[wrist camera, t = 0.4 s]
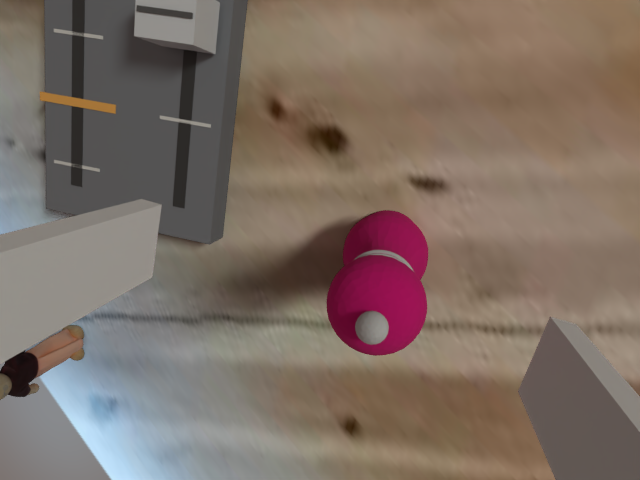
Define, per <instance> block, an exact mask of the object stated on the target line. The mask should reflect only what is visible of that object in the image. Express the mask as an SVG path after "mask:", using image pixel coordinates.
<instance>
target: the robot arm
mask: <svg viewBox="0 0 640 480" xmlns="http://www.w3.org/2000/svg"><path fill="white" fill-rule="evenodd" d="M161 207H162V205H161V204H158V203H154V202H151V201H147V200H144V199H139V200H135V201H132V202H128V203H124V204H120V205H116V206H112V207H108V208H104V209H100V210H96V211H92V212H88V213H84V214H80V215H76V216H73V217H69V218H65V219H61V220H57V221H53V222H49V223H45V224H41V225H37V226H33V227H29V228H25V229H21V230H17V231H13V232H10V233H6V234H2V235H0V364H1V363H3V362H5V361H7V360H8V359H10V358H12V357H14V356H15V355H17V354H19V353H21V352H22V351H24V350H26V349H28V348H29V347H31V346H33V345H35V344H36V343H38V342H40V341H42V340H43V339H45V338H47V337H49V336H50V335H52V334H54V333H56V332H57V331H59V330H61V329H63V328H64V327H66V326H68V325H70V324H71V323H73V322H75V321H77V320H78V319H80V318H82V317H84V316H85V315H87V314H89V313H91V312H92V311H94V310H96V309H98V308H99V307H101V306H103V305H105V304H106V303H108V302H110V301H112V300H113V299H115V298H117V297H119V296H120V295H122V294H124V293H126V292H127V291H129V290H131V289H133V288H134V287H136V286H138V285H140V284H141V283H143V282H145V281H147V280H148V279H150V278H152V275H153V268H154V260H155V252H156V245H157V237H158V229H159V222H160V214H161ZM518 392H519V395H520V397H521V399H522V402H523V404H524V406H525V409H526V411H527V413H528V416H529V418H530V420H531V423H532V425H533V428H534V430H535V432H536V435H537V437H538V439H539V442H540V444H541V446H542V449H543V451H544V453H545V456H546V458H547V460H548V463H549V465H550V467H551V470H552V472H553V474H554V477H555V479H556V480H640V396H639V395H638V394H637V393H636V392H635V391H634V390H633V388H632V387H631V386H630V385H629V384H628V383H627V382H626V380H625V379H624V378H623V377H622V376H621V375H620V374H619V373H618V371H617V370H616V369H615V368H614V367H613V366H612V365H611V363H610V362H609V361H608V360H607V359H606V358H605V357H604V355H603V354H602V353H601V352H600V351H599V350H598V349H597V347H596V346H595V345H594V344H593V343H592V342H591V341H590V339H589V338H588V337H587V336H586V335H585V334H584V333H583V331H582V330H581V329H580V328H579V327H578V326H577V325H576V324H574V323H571V322H567V321H564V320H560V319H557V318H553V317H550V319H549V321H548V323H547V325H546V328H545V330H544V332H543V335H542V337H541V339H540V342H539V344H538V346H537V349H536V351H535V353H534V356H533V358H532V360H531V363H530V365H529V367H528V370H527V372H526V374H525V377H524V379H523V381H522V384H521V386H520V388H519V391H518Z"/></svg>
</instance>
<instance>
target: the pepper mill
mask: <svg viewBox="0 0 640 480" xmlns="http://www.w3.org/2000/svg"><path fill="white" fill-rule="evenodd" d="M427 261H428V247H427V242H426V240H425V237H424V235H423V233H422V232H421V230H420V229H419V228H418V227H417V226H416V225H415V224H414V223H413V222H412V221H411V220H410V219H409V218H408V217H407V216H405V215H404V214H401V213H399V212H395V211H386V210H385V211H379V212H376V213H373V214H371V215H369V216H367V217H365V218H363V219H362V220H360V221H359V222H358V223H356V224H355V226H354V227H353V228H352V229H351V230H350V232H349V234H348V236H347V238H346V240H345V244H344V249H343V263H344V267H343V268H342V269H341V270H340V271H339V272H338V273H337V274H336V276H335V277H334V279H333V281H332V283H331V285H330V288H329V291H328V295H327V313H328V318H329V321H330V323H331V325H332V328H333V329H334V331H335V332H336V334H337V335H338V337H339V338H340V339H341V340H342V341H343V342H345V343H346V344H347V345H348V346H349V347H351V348H353V349H355V350H356V351H359V352H362V353H365V354H369V355H387V354H391V353H395V352H397V351H399V350H401V349H403V348H405V347H406V346H407V345H409V344H410V343H411V342H412V341H413V340H414V339H415V338H416V336H417V335H418V334H419V333H420V331H421V329H422V327H423V324H424V322H425V318H426V313H427V301H426V294H425V291H424V288H423V285H422V283H421V281H420V279H421V278H422V276H423V274H424V272H425V270H426V266H427Z"/></svg>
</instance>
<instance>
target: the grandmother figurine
mask: <svg viewBox="0 0 640 480" xmlns="http://www.w3.org/2000/svg"><path fill="white" fill-rule="evenodd" d="M83 338H84V332H83V330H82V328H81V327H79V326H76V325H68V326H66V327H64V328H63V329H62V331H61V332H59V333H57V334H55V335H53V336H51V337H49V338H47V339H46V340H44V341H42V342H41V343H39V344H38V345H37V346H35V347H34V348H32V349H30V350H28V351H26V352H25V350H24V351H22V352H21V353H19V354H17V355H15V356H14V357H12V358H10V359H8V360H7V361H5V364H4V366H3V367H2V369H1V371H0V400H1V399H3V398H4V397H5V396H7V395H11V396H16V397H25V396H27V395H29V394H32V393H36V392H37V391H38V390H39V386H38V385H37V384H35V383H34V384H31V385H29V384H28V383H30V382H31V381H32V380H33V379H34V378H36V377H38V376H40V375H42V374H43V373H45V372H46V371H48V370H50V369H51V368H53V367H55V366H57V365H59V364H60V363H62V362H64V361H66V360H67V359H68V358H71V359H73V360H81V359H82V358H83V357H84V350H83V349H82V347H83V340H82V339H83Z"/></svg>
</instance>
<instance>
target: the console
mask: <svg viewBox="0 0 640 480" xmlns="http://www.w3.org/2000/svg"><path fill="white" fill-rule="evenodd" d="M217 1H218V2H219V3H220V9H219V20H218V31H217V42H216V53H215V54H210V53H204V52H197V51H190V50H184V49H177V48H171V47H164V46H160V45H157V44H154V43H152V42H149V41H146V40H143V39H141V38H138V37H135V36H134V26H135V2H136V0H44V2H45V92H40V100H41V101H45V127H46V208H47V209H51V210H56V211H60V212H65V213H69V214H74V215H80V214H84V213H88V212H92V211H96V210H100V209H104V208H108V207H112V206H116V205H120V204H124V203H128V202H132V201H135V200H139V199H144V200H147V201H151V202H154V203H158V204H161V205H162V207H161V214H160V222H159V229H158V233H160V234H165V235H169V236H174V237H178V238H183V239H188V240H192V241H197V242H201V243H206V244H212V243H213V242H215V241H217V240H219V239H220V238H222V237H223V228H224V219H225V209H226V200H227V190H228V181H229V172H230V162H231V153H232V143H233V134H234V124H235V115H236V105H237V96H238V86H239V77H240V67H241V58H242V48H243V39H244V29H245V20H246V10H247V1H248V0H217Z"/></svg>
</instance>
